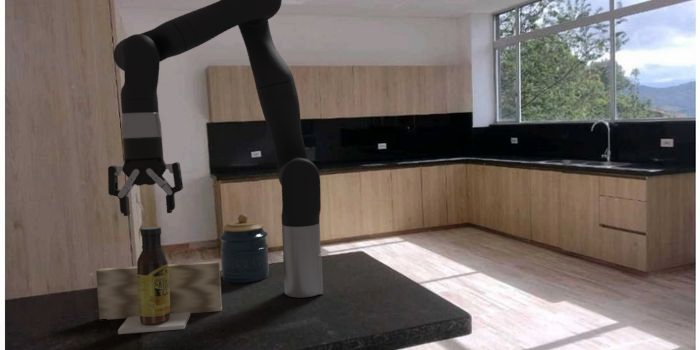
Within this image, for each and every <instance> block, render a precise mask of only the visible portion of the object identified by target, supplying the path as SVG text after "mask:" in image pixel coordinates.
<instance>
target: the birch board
mask: <svg viewBox="0 0 700 350" xmlns="http://www.w3.org/2000/svg"><path fill="white" fill-rule="evenodd" d="M220 268H221V266H220V261H219V260H217V261H215V260H214V261H204V262H203V261H202V262H200V261H199V262H188V263H187V262H186V263H185V262H184V263H171V264H170V263H168V272H169V292H170V314H173V313H186V312H190V314H196V313H197V314H199V313H209V312H222V310H223V303H222V285H221V269H220ZM95 273H96V277H95V278H96V287H97V301H98V304H97V305H98V317H99V320H100V319H107V320H118V319H119V320H120V319H127V318H128V317H133V316H140V315H139V304H138V283H137V273H138V271H137V265H136V266H122V267H121V266H120V267H108V268H107V267H105V268H98V269H96V270H95Z"/></svg>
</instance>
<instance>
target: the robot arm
mask: <svg viewBox="0 0 700 350" xmlns="http://www.w3.org/2000/svg"><path fill="white" fill-rule="evenodd" d="M282 1H283V0H218V1H216V2H213V3H211V4H208V5H206V6H203V7H200V8H198V9H196V10H192V11H190V12H187V13H185V14H181V15H179V16H177V17H175V18H174V17H173V18H172V19H170V20H167V21H164V22H163V23H161V24H160V25H158V26H156V27H155V28H152V29H150V30H147V31H144V32H142V33H135V34H132V35H130V36H128V37H125V38H124V39H122V40H121V41H119V42H118V43H117V44H116V45H115V47H114V50H113V60H114V63H115V64H116V66H117V67H118V68H119V69H120V70H122V71H123V72H124V76H123V77H124V83H123V85H122V87H121V91H120V105H121V136H122V145H123V147H122V148H123V159H124V164H123V165H122V166H121V165H110V166H108V167H107V176H108V178H107V182H108V183H107V184H108V185H107V187H108V195H109V196H114V197H117V198H118V200H119V210H120V214H123V216H124V217H129V216H130V215H131V209H130V198H129V196H128V194H129V193H130V191H131V190H132V189H133V187H134V186H135V185H136V187H137V186H138V187H140V186H144V185H146V186H153V185H155V184H157V186H158V187H159V188H161V189H162V190H163V192H165V193H166V195H165V203H166V205H165V206H166V214H172V212H173V211H174V210H175V208H176V201H175V194H176V193H178V192H180V191H183V189H184V185H183V183H184V182H183V178H182V169H181V163H180V162H178V161H177V162H175V161H174V162H173V163H166V161H165V160H164V149H163V148H164V147H163V135H162V125H161V124H162V121H161V119H160V114H159V112H160V111H159V110H160V109H159V98H158V93H157V92H158V84H159V75H160V63H161V62H163V61H165V60H167V59H169V58H172V57H176V56H179V55H181V54H184V53H186V52H188V51H189V52H190V50H193V49H195V48H197V47H199V46H201V45H203V44H205V43H207V42H208V41H211V40H213V39H214V38H216V37H218V36H220V35H221V34H223V33H225V32H227V31H228V30H230V29H233V28H235V27H238V29H239V32H240V34H241V37H242V40H243V42H244V43H243V44H244V45H245V48H246V53H247V56H248V61H249V65H250V68H251V71H252V72H251V73H252V76H253V81H254V83H255V84H254V85H255V90H256V93H257V97H258V101H259V104H260V107H261V111H262V114H263V118H264V120H265V123H266V127H267V128H268V132H269V134H270V138H271V139H272V143H273V149H274V153H275V154H274V155H275V159H276V166H277V173H278V180H279V184H280V186H281V202H282V203H281V206H282V207H281V217H280V218H281V231H282V232H281V234H282V235H281V237H282V255H283V256H282V258H283V280H284V281H283V284H284V285H283V286H284V295H286V296H287V297H289V298H290V297H292V298H310V297H315V296H318V295H323V294H324V283H323V257H322V254H321V253H322V251H321V224H320V222H321V221H320V217H321V210H322V208H321V207H322V205H321V203H322V202H321V201H322V199H321V196H322V195H321V175H320V172H319V169H318V167H317V166H316V165H315V163H314V162H312V161H311V160H310V157H309V155H308V151H307V149H306V147H305V146H306V145H305V143H304V139H303V134H302V126H301V124H302V123H301V110H300V109H301V108H300V99H299V96H298V92H297V87H296V82H295V80H294V75H293V73H292V71H291V69H290V67H289V65H288V64H287V63H286V61H285V59H284V58H283V57H282V56H281V54H280V52H279V51H278V50H277V47H276V45H275V43H274V40H273V37H272V34H271V30H270V26H269V25H270V24H269V20H270V19H272V18H273V17H275V15H277V14H278V12H279V10H280V8H281V7H282ZM166 170H168V172H169V173H170V174H172V176H173V183H174V186H171V185H170V183H169V181H168V180H167V179H166V178H165V177H164V173H165V172H166ZM122 172H123V173H124V174H125V176H126V177H127V179H126V181H125V182H124V184H123V187H121V189H119V177H120V176H121V174H122Z"/></svg>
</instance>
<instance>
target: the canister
mask: <svg viewBox="0 0 700 350" xmlns="http://www.w3.org/2000/svg"><path fill="white" fill-rule="evenodd" d="M264 227H265V224H263V223H261V222H260V221H259V220H255V219H248V215H247V214H246V213H241V214H239V215H238V217H237V220H234V221H229V222H227V223H226V224H225V225H223V226H222V229H221V230H222V231H223V233H221V234H220V236H219V239H220V240H221V247H220V259H221V269H220V276H221V277H222V280H223V281H225V282H226V283H227V282H228V283H232V284H233V283H234V284H246V283H253V282H258V281H261V280H265V279H266V278H267V277H269V272H270V266H269V251H268V249H269V248H268V247H269V244H268V243H267V239H266V238H267V236H268V232H266V231H265V230H264V229H263V228H264Z"/></svg>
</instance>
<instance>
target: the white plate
mask: <svg viewBox="0 0 700 350" xmlns="http://www.w3.org/2000/svg"><path fill="white" fill-rule="evenodd" d="M190 317H191V313H190V312H186V313H173V314H170V317H169V319H168V320H167V321H165V322H162V323H158V324H153V325H147V324H142V323H141V321H140V316H133V317H128V318H125V320H124V322H123V323H122V324H121V325H120V327H119V328H118V330H117V334H118V335H123V334H124V335H125V334H127V335H128V334H137V333H138V334H139V333H149V332H162V331H175V330H176V331H177V330H185V328H186V326H187V324H188V322H189V319H190Z"/></svg>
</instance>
